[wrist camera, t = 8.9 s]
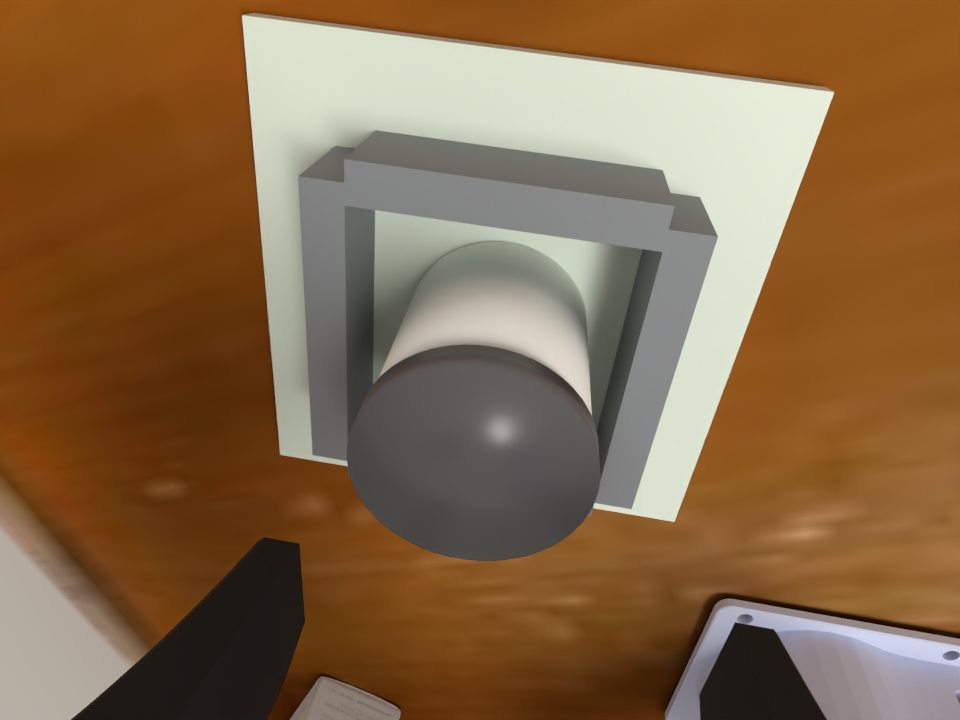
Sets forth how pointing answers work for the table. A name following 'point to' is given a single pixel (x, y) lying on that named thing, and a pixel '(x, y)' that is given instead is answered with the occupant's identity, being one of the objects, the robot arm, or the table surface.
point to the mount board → (518, 218)
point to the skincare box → (343, 703)
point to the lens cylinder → (482, 410)
